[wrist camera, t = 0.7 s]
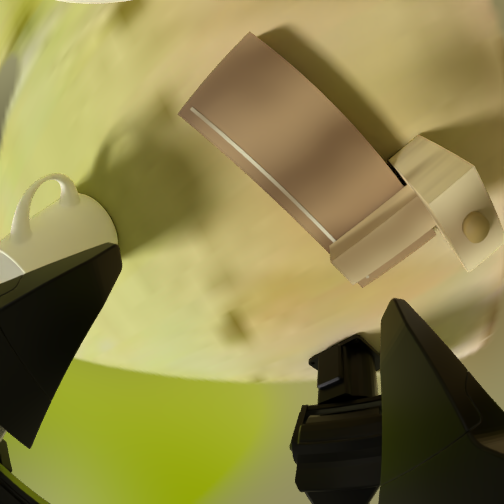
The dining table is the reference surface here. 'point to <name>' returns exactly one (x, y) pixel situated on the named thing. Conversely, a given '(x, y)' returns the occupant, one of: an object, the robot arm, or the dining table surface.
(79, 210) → the mug
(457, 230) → the beige box with knob
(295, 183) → the board
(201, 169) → the dining table surface
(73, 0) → the decorative vase
